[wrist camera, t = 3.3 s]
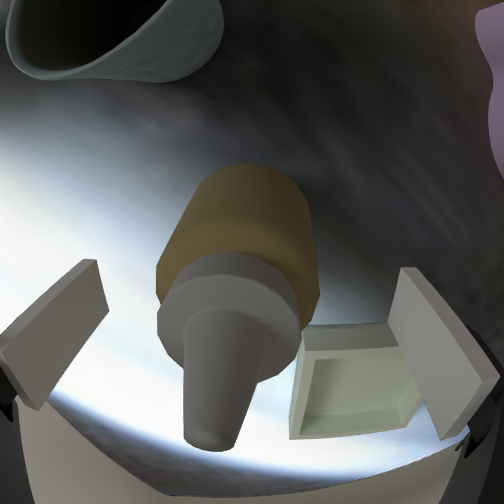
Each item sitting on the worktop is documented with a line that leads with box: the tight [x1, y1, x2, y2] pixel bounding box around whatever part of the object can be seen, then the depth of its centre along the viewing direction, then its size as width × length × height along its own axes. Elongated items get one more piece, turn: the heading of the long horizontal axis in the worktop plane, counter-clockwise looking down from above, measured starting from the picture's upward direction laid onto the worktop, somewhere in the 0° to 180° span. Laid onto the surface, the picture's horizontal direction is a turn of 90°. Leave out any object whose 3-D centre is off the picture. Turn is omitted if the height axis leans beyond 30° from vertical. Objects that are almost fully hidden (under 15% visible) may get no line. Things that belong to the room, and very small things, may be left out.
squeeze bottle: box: [156, 162, 320, 452], centre depth 14 cm, size 8×8×18 cm
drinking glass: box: [5, 0, 224, 83], centre depth 11 cm, size 10×10×12 cm
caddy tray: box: [289, 323, 423, 440], centre depth 27 cm, size 15×15×4 cm
